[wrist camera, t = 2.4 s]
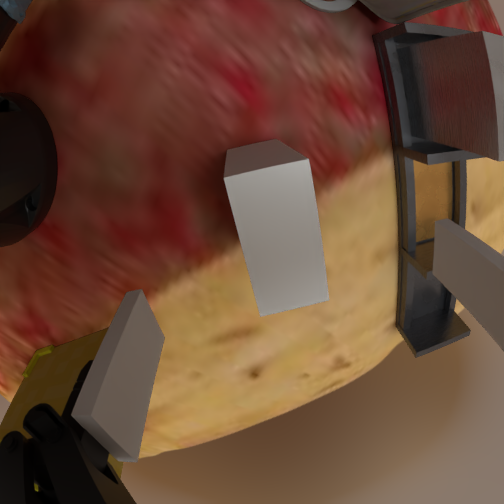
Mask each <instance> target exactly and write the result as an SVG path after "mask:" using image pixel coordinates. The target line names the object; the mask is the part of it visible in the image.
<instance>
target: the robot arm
mask: <svg viewBox="0 0 504 504" xmlns="http://www.w3.org/2000/svg"><path fill="white" fill-rule="evenodd" d="M31 2H32V0H0V51H1V49H2V47H3V46H4V44H5V42H6V40H7V39H8V37H9V35H10V34H11V32H12V30H13V29H14V27H15V26H16V24H17V22H18V23H19V24H21V23H22V21H23V20H24V18H25V16H26V12H25V11H26V9H27V8H28V6H29V5H30V3H31ZM56 181H57V155H56V148H55V143H54V139H53V135H52V132H51V129H50V127H49V125H48V122H47V120H46V118H45V117H44V115H43V113H42V112H41V111H40V109H39V108H38V107H37V106H36V105H35V104H34V103H33V102H32V101H31V100H30V99H28V98H27V97H25V96H23V95H20V94H17V93H0V247H4V246H8V245H12V244H14V243H16V242H18V241H20V240H22V239H23V238H24V237H26V236H27V235H28V234H29V233H31V232H32V231H33V230H35V229H36V228H37V227H38V226H39V225H40V224H41V222H42V221H43V220H44V218H45V216H46V215H47V213H48V211H49V209H50V206H51V203H52V200H53V197H54V193H55V188H56ZM432 274H433V275H434V276H435V277H436V278H437V279H438V280H439V281H440V282H441V283H442V284H443V285H444V286H445V287H446V288H447V289H448V290H449V291H450V292H451V293H452V294H453V295H454V296H455V297H456V298H457V299H458V300H459V302H460V303H461V304H462V305H463V306H464V307H465V308H466V309H467V310H468V311H469V312H470V313H471V314H472V315H473V317H474V318H475V319H476V320H477V321H478V322H479V323H480V324H481V325H482V327H483V328H484V329H485V330H486V331H487V332H488V333H489V335H490V336H491V337H492V338H493V339H494V340H495V342H496V343H497V344H498V345H499V346H500V347H501V349H502V350H503V351H504V256H502V255H501V254H500V253H498V252H497V251H496V250H494V249H493V248H491V247H490V246H489V245H487V244H486V243H484V242H483V241H481V240H480V239H478V238H477V237H476V236H474V235H473V234H471V233H470V232H468V231H467V230H465V229H464V228H462V227H461V226H459V225H457V224H456V223H454V222H453V221H451V220H450V219H448V218H446V219H442V220H438V221H435V238H434V258H433V272H432ZM164 339H165V337H164V335H163V333H162V331H161V329H160V327H159V325H158V323H157V321H156V318H155V316H154V314H153V312H152V310H151V308H150V306H149V304H148V301H147V299H146V297H145V295H144V293H143V290H142V289H139V290H135V291H130V292H126V294H125V296H124V298H123V300H122V302H121V304H120V306H119V308H118V310H117V312H116V314H115V316H114V318H113V320H112V322H111V324H110V326H109V329H108V331H107V333H106V335H105V337H104V339H103V341H102V343H101V346H100V348H99V350H98V352H97V354H96V356H95V359H94V360H89V361H88V362H87V364H86V365H85V366H84V367H83V368H82V369H81V371H80V373H79V375H78V378H77V380H76V381H77V382H75V384H74V387H73V391H71V394H70V396H69V398H68V401H67V403H66V405H65V408H64V410H63V413H62V415H61V416H60V415H59V414H58V413H57V412H56V411H55V410H54V408H53V407H52V406H51V405H49V404H47V403H40V404H38V405H35V406H34V407H33V408H31V409H30V410H29V411H28V413H27V414H26V415H25V417H24V420H23V429H24V430H25V431H26V432H28V433H29V434H30V435H31V436H32V437H33V438H29V439H27V438H26V437H25V436H24V435H23V434H22V433H21V432H19V431H11V432H9V433H7V434H6V435H5V436H4V437H3V439H2V441H1V442H0V504H136V502H135V501H134V499H133V498H132V496H131V495H130V493H129V492H128V490H127V489H126V487H125V486H124V484H123V483H122V481H121V480H120V478H119V476H118V475H117V473H116V471H115V470H114V468H113V466H112V465H111V464H110V463H109V462H108V457H109V453H110V454H111V455H112V456H113V457H114V458H115V459H116V460H118V461H122V462H138V457H139V452H140V446H141V441H142V436H143V431H144V426H145V421H146V416H147V412H148V407H149V402H150V398H151V393H152V389H153V384H154V380H155V376H156V372H157V367H158V363H159V359H160V355H161V351H162V347H163V343H164ZM34 483H35V484H36V485H38V492H37V491H36V490H35V486H34Z"/></svg>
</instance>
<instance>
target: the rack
mask: <svg viewBox="0 0 504 504" xmlns="http://www.w3.org/2000/svg"><path fill="white" fill-rule="evenodd" d="M372 37H373V41H374V45H375V49H376V53H377V57H378V62H379V66H380V71H381V76H382V81H383V86H384V91H385V97H386V102H387V108H388V115H389V121H390V129H391V136H392V144H393V153H394V163H395V174H396V187H397V203H398V229H399V273H398V299H397V316H396V328H397V329H398V331H399V332H400V334H401V335H402V337H403V338H404V340H405V342H406V343H407V345H408V346H409V348H410V349H411V351H412V353H413V354H414V356H415V357H419V356H422V355H424V354H427V353H429V352H432V351H434V350H436V349H439V348H441V347H444V346H446V345H448V344H451V343H453V342H455V341H458V340H460V339H462V338H464V337H466V336H469V334H470V331H471V330H470V329H469V327H468V326H467V325H466V324H465V323H464V322H463V321H462V319H461V318H460V317H459V316H458V315H457V314H456V312H455V311H454V308H455V303H456V297H455V296H454V295H453V294H452V293H451V292H450V291H449V290H448V289H447V288H446V287H445V286H444V285H443V284H442V283H441V282H440V281H439V280H438V279H437V278H436V277H435V276H434V275H433V274H432V272H433V258H434V238H435V221H438V220H442V219H446V218H448V219H450V220H451V221H453V222H454V223H456V224H457V225H459V226H461V227H462V228H464V229H465V220H466V191H467V173H466V160H468V159H475V158H483V157H487V158H490V159H493V160H496V161H504V37H503V36H500V35H496V34H492V33H488V32H484V31H479V32H471V31H466V30H461V29H455V28H449V27H443V26H436V25H428V24H418V23H407V22H404V23H401V24H399V25H396V26H394V27H391V28H389V29H387V30H384V31H382V32H380V33H377V34H375V35H373V36H372Z"/></svg>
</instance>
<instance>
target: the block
mask: <svg viewBox="0 0 504 504" xmlns="http://www.w3.org/2000/svg"><path fill="white" fill-rule="evenodd" d="M224 182H225V186H226V189H227V193H228V197H229V201H230V205H231V208H232V212H233V216H234V220H235V224H236V227H237V231H238V235H239V239H240V242H241V246H242V250H243V254H244V258H245V261H246V265H247V269H248V272H249V276H250V280H251V284H252V287H253V291H254V295H255V299H256V302H257V306H258V310H259V313H260V317H261V316H266V315H270V314H275V313H279V312H283V311H288V310H292V309H296V308H300V307H304V306H308V305H312V304H316V303H320V302H324V301H328V300H329V294H328V285H327V276H326V268H325V260H324V252H323V245H322V238H321V231H320V224H319V217H318V210H317V204H316V198H315V192H314V186H313V180H312V174H311V168H310V163H309V159H308V158H306V157H305V156H303V155H302V154H300V153H299V152H297V151H295V150H294V149H292V148H290V147H289V146H287V145H286V144H284V143H282V142H281V141H279V140H277V139H273V140H268V141H263V142H259V143H254V144H250V145H245V146H241V147H237V148H233V149H228V150H227V154H226V162H225V170H224Z"/></svg>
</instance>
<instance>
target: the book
mask: <svg viewBox="0 0 504 504" xmlns="http://www.w3.org/2000/svg"><path fill="white" fill-rule="evenodd" d="M108 329H109V328H107V329H104V330H101V331H99V332H96V333H93V334H90V335H88V336H85V337H82V338H79V339H76V340H74V341H71V342H68V343H65V344H62V345H60V346H57V347H54V346H53V345H50V346H47V347H44V348H41V349H39V350H36V352H35V354H34V355H33V357H32V359H31V360H30V362H29V364H28V366H27V367H26V369H25V371H24V373H23V374H22V375H23V376H24V377H25V378H24V379H23V381H22V383H21V385H20V387H19V389H18V391H17V393H16V394H15V396H14V398H13V400H12V402H11V404H10V406H9V408H8V410H7V413H6V414H5V416H4V419H3V421H2V423H1V425H0V442H1V441H2V439H3V437H4V436H5V435H6V434H7V433H9V432H11V431H19V432H21V433H22V434H23V435H24V436H25V437H26V438H27V439H29V438H33V437H32V436H31V435H30V434H29V433H28V432H26V431H25V430H24V429H23V420H24V417H25V415H26V414H27V413H28V411H29V410H30V409H31V408H33V407H34V406H35V405H38V404H40V403H47V404H49V405H51V406H52V407H53V408H54V410H55V411H56V412H57V413H58V414H59V415H60V416H61V415H62V413H63V410H64V408H65V405H66V403H67V401H68V398H69V396H70V394H71V391H73V387H74V384H75V382H77V381H76V380H77V378H78V375H79V373H80V371H81V369H82V368H83V367H84V366H85V365H86V364H87V362H88V361H89V360H94V359H95V356H96V354H97V352H98V350H99V348H100V346H101V343H102V341H103V339H104V337H105V335H106V333H107V331H108ZM108 462H109V463H110V464H111V465H112V466H113V468H114V470H115V471H116V473H117V475H118V476H119V478H121V472H122V467H123V462H122V461H118V460H116V459H115V458H114V457H113V456H112V455H111V454H110V453H109V457H108ZM34 486H35V490H36V491H37V492H38V485H36V484H35V483H34Z"/></svg>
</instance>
